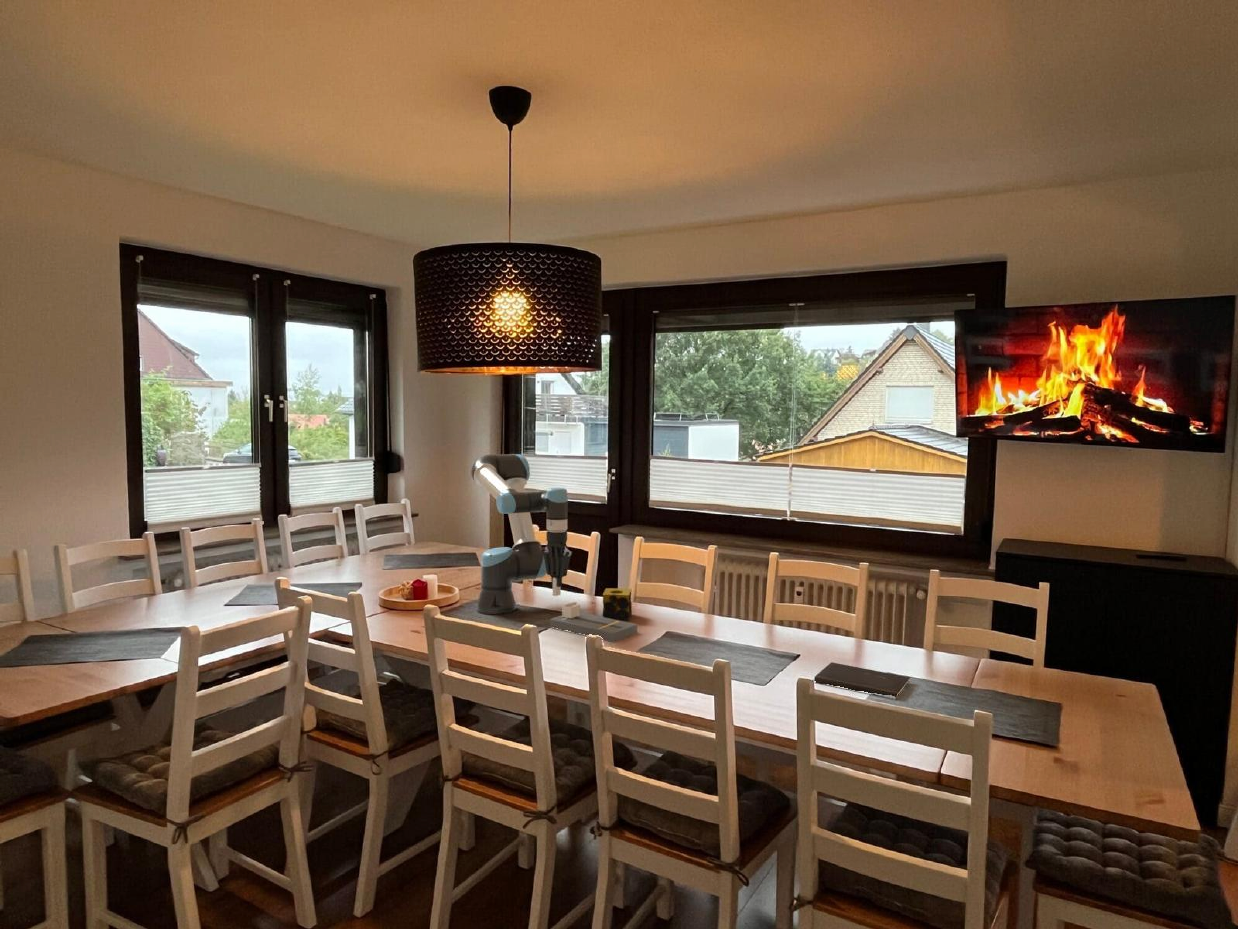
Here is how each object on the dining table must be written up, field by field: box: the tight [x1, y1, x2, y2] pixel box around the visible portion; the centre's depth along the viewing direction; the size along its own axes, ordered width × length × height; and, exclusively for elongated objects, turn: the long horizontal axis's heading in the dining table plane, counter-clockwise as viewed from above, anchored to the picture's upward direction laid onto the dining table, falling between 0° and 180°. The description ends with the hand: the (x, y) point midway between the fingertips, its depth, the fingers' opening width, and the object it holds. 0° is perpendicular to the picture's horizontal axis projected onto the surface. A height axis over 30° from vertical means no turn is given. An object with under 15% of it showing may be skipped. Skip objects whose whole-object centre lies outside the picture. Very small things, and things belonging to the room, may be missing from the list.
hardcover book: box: [813, 661, 911, 698], centre depth 223 cm, size 16×23×2 cm
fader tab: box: [561, 601, 581, 618], centre depth 277 cm, size 4×5×5 cm
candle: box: [602, 587, 633, 622], centre depth 288 cm, size 10×10×10 cm
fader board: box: [549, 611, 638, 643], centre depth 271 cm, size 28×14×3 cm, turn 55°
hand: (556, 595), depth 280 cm, fingers closed
